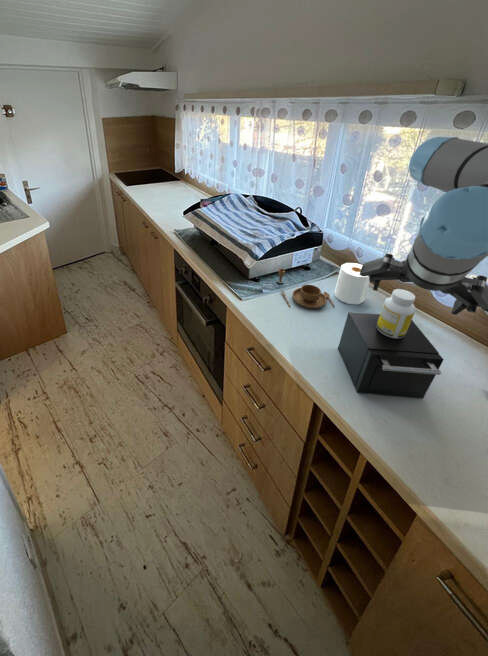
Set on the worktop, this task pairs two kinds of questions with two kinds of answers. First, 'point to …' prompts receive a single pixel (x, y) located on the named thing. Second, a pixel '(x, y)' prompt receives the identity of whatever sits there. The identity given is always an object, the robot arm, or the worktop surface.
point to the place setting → (307, 295)
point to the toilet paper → (351, 284)
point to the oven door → (398, 373)
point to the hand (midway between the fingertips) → (413, 295)
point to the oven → (375, 341)
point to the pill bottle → (397, 314)
